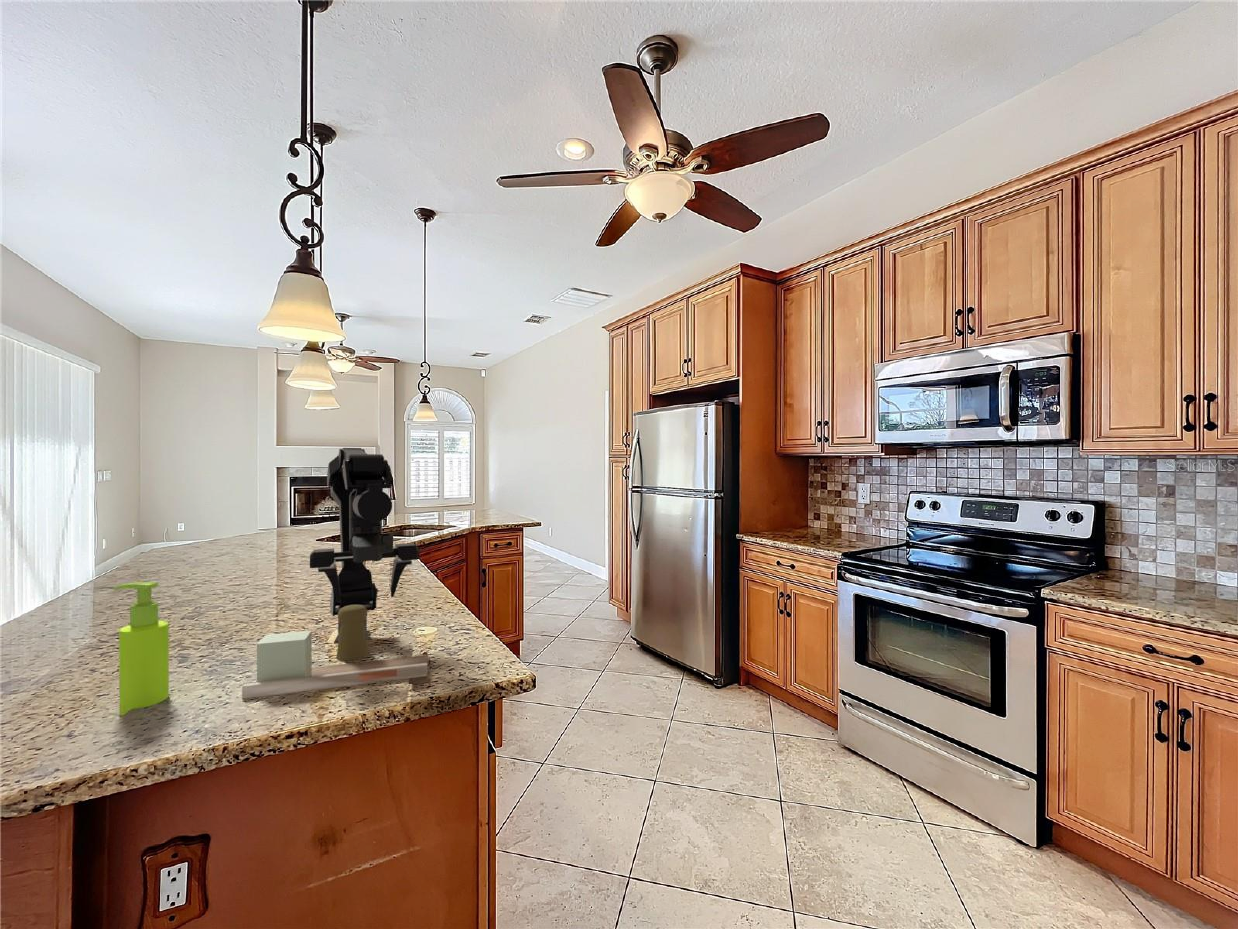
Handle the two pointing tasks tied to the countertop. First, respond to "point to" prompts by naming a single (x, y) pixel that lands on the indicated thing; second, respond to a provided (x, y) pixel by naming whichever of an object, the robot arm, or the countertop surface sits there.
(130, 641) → the soap dispenser
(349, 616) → the cork
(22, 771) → the countertop surface
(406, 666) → the shelf board
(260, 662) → the sage tin
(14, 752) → the countertop surface
